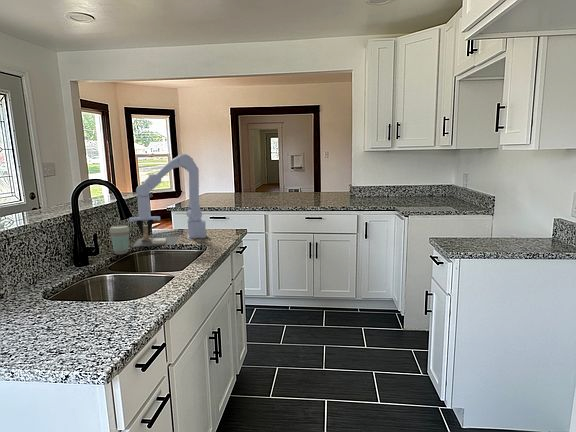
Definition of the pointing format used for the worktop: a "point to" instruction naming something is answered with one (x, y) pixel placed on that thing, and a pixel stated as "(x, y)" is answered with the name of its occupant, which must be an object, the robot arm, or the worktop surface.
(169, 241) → the mat
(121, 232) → the coffee cup
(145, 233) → the stepped wooden block
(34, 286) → the worktop surface
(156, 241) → the tile
